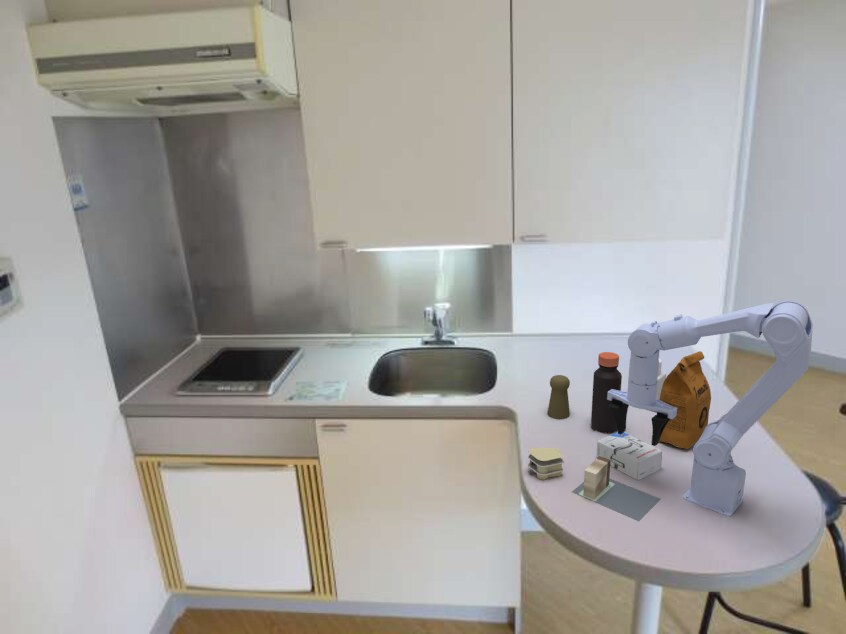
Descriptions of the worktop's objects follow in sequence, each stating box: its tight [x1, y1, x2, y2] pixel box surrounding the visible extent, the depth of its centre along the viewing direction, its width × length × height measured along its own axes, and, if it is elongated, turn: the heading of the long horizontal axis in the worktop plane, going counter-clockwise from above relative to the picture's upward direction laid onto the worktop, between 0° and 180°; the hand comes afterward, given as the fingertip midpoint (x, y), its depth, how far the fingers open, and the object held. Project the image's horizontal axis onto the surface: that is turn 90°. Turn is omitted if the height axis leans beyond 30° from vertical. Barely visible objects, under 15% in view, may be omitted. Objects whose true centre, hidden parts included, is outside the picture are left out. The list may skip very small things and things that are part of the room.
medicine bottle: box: [656, 357, 667, 400], centre depth 168 cm, size 7×7×12 cm
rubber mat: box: [571, 477, 661, 522], centre depth 125 cm, size 15×10×1 cm, turn 45°
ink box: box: [595, 431, 663, 481], centre depth 136 cm, size 9×5×12 cm
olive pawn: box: [546, 374, 571, 420], centre depth 160 cm, size 6×6×11 cm
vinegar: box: [590, 351, 623, 434], centre depth 150 cm, size 7×7×20 cm
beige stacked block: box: [527, 446, 565, 480], centre depth 133 cm, size 10×9×6 cm
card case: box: [583, 456, 611, 499], centre depth 126 cm, size 7×3×6 cm, turn 139°
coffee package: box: [659, 350, 712, 450], centre depth 143 cm, size 10×12×22 cm
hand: (638, 438), depth 129 cm, fingers open, 7 cm apart
